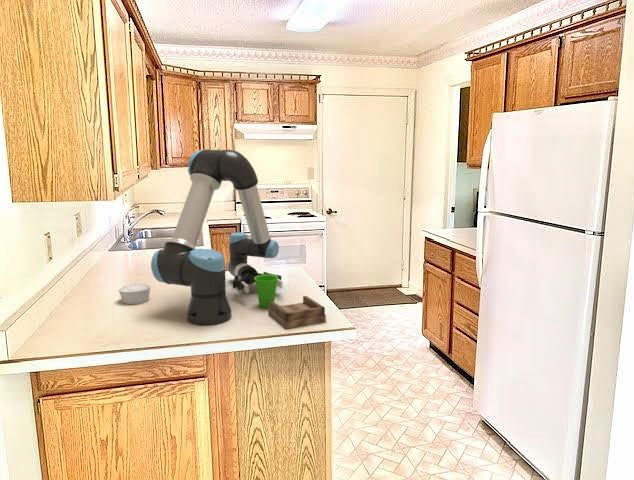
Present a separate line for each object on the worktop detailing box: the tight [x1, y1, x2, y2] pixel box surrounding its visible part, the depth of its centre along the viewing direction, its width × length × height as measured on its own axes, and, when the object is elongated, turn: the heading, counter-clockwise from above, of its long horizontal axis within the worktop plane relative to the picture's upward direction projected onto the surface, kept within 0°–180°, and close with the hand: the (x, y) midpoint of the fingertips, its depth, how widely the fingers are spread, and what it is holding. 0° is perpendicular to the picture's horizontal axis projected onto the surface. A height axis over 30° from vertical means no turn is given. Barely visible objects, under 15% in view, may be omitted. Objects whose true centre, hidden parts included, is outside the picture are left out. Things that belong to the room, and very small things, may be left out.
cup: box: [254, 274, 278, 309], centre depth 173 cm, size 9×9×11 cm
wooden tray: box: [267, 295, 327, 330], centre depth 161 cm, size 15×15×5 cm
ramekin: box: [118, 283, 151, 305], centre depth 179 cm, size 11×11×5 cm
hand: (265, 287), depth 177 cm, fingers open, 13 cm apart
